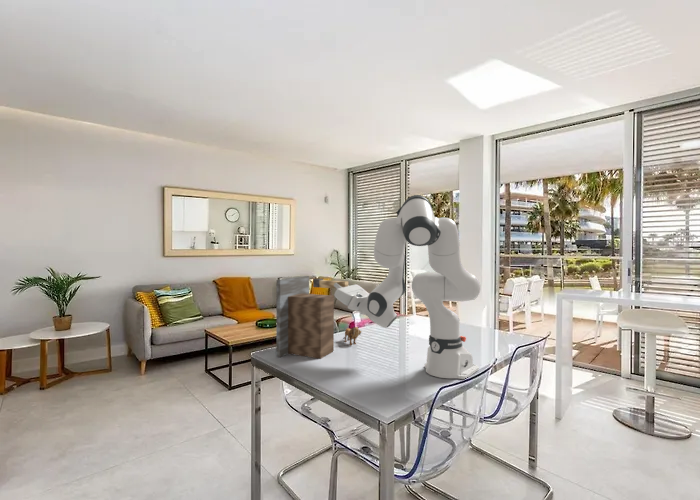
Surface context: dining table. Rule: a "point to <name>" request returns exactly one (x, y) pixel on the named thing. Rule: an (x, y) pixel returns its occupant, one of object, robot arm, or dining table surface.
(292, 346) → the brown tall block
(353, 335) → the lion figurine
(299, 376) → the dining table surface
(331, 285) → the light wooden bar
